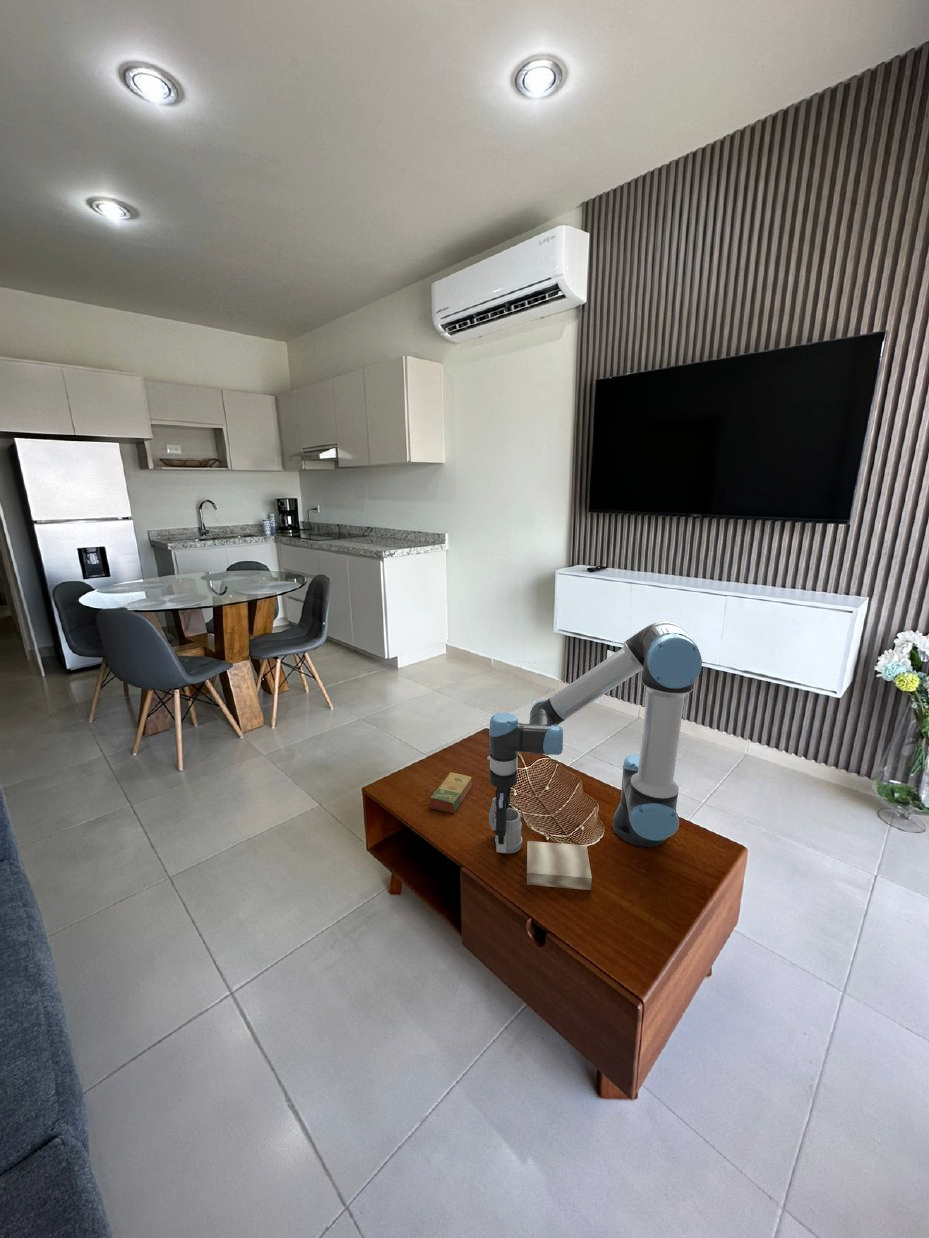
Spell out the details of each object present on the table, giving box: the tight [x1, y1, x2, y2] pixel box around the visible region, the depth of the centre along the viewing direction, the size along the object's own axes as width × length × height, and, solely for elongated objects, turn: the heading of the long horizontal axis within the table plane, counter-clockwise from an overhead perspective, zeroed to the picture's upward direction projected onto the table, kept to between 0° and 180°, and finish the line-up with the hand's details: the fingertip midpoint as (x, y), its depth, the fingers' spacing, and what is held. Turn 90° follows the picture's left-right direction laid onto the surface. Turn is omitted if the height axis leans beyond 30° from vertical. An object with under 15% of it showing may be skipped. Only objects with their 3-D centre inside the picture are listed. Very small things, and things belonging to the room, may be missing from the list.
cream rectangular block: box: [526, 840, 593, 891], centre depth 134 cm, size 16×12×4 cm
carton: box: [429, 771, 473, 814], centre depth 166 cm, size 8×16×4 cm, turn 158°
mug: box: [488, 797, 523, 854], centre depth 143 cm, size 8×12×12 cm, turn 39°
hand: (503, 840), depth 144 cm, fingers closed on mug, 8 cm apart
